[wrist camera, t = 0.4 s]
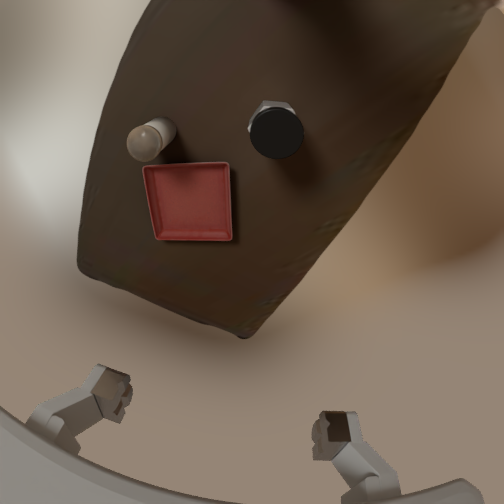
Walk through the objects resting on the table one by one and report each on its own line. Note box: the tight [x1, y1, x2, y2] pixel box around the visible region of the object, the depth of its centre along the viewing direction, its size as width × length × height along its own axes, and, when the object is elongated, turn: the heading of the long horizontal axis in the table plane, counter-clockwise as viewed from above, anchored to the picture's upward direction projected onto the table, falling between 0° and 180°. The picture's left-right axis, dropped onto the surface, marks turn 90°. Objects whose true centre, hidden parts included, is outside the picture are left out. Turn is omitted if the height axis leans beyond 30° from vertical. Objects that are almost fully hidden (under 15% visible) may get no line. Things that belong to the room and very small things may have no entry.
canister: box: [127, 117, 176, 161], centre depth 46 cm, size 6×6×10 cm
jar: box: [248, 101, 304, 159], centre depth 44 cm, size 9×8×12 cm
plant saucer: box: [142, 162, 232, 241], centre depth 58 cm, size 18×18×3 cm
